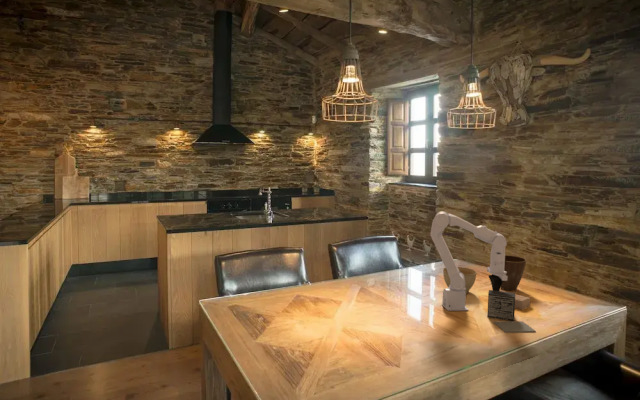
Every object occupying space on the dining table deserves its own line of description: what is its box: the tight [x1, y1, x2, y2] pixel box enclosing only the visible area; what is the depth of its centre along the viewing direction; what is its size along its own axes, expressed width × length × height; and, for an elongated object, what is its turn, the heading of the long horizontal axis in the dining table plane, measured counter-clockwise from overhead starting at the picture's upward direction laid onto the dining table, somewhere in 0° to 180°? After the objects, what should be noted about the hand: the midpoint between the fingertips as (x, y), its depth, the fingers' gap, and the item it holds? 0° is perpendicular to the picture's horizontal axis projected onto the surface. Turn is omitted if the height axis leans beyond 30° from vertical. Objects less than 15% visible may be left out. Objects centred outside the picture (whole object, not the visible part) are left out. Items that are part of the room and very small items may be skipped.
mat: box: [493, 320, 536, 333], centre depth 166 cm, size 12×10×1 cm
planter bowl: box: [442, 266, 478, 294], centre depth 210 cm, size 16×16×11 cm
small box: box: [486, 289, 516, 321], centre depth 177 cm, size 11×6×10 cm, turn 65°
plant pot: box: [500, 254, 527, 292], centre depth 216 cm, size 15×15×16 cm
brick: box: [499, 289, 531, 310], centre depth 194 cm, size 17×8×5 cm, turn 42°
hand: (495, 292), depth 182 cm, fingers closed
